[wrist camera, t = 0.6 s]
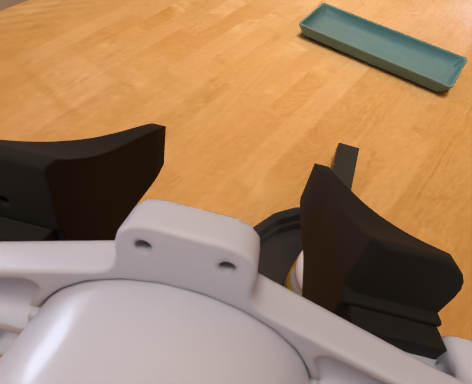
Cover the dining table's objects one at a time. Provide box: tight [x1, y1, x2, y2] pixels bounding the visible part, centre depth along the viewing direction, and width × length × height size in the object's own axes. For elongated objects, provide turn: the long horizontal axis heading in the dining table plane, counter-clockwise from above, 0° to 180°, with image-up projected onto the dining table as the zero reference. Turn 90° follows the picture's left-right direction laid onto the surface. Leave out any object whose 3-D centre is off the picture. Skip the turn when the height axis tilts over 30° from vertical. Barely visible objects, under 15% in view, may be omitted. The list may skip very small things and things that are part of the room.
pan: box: [253, 207, 303, 287], centre depth 27 cm, size 16×16×3 cm
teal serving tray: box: [299, 3, 467, 92], centre depth 48 cm, size 26×9×2 cm, turn 53°
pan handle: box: [331, 143, 359, 190], centre depth 32 cm, size 10×2×1 cm, turn 159°
